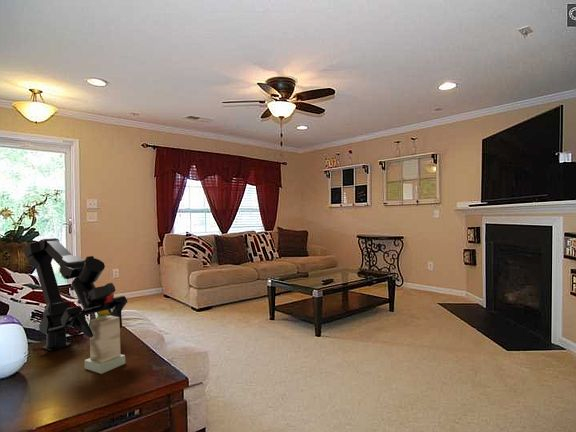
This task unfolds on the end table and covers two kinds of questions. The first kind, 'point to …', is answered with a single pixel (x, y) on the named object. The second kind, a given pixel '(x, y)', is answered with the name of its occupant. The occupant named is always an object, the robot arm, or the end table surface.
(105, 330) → the birch pillar
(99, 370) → the sage block
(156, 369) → the end table surface
